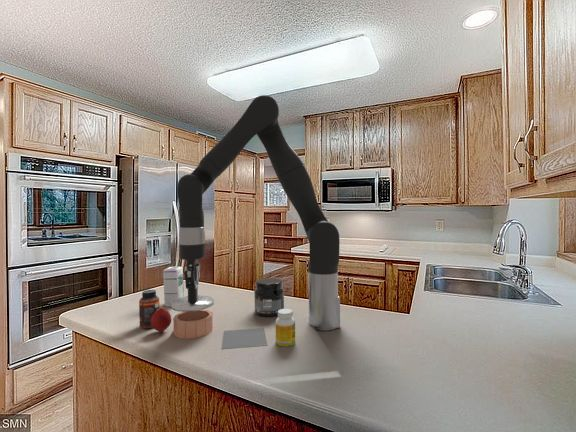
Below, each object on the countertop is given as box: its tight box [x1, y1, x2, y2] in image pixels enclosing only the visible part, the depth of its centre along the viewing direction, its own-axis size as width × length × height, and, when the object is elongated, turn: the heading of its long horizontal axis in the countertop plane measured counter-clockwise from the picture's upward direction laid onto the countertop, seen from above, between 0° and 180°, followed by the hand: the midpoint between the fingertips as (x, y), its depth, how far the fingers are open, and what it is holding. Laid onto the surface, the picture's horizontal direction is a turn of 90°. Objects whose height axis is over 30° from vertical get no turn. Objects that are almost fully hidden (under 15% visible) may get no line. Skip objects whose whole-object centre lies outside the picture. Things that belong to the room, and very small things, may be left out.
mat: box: [221, 327, 268, 350], centre depth 86 cm, size 12×12×1 cm
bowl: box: [172, 309, 214, 339], centre depth 92 cm, size 11×11×6 cm
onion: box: [151, 305, 172, 333], centre depth 93 cm, size 6×6×8 cm
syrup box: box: [162, 266, 185, 307], centre depth 120 cm, size 6×6×14 cm
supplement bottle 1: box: [138, 289, 160, 330], centre depth 98 cm, size 6×6×11 cm
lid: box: [170, 284, 215, 313], centre depth 91 cm, size 12×12×6 cm
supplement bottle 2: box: [274, 308, 296, 348], centre depth 83 cm, size 5×5×10 cm
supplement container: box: [253, 277, 285, 318], centre depth 107 cm, size 10×10×12 cm
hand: (193, 299), depth 91 cm, fingers closed on lid, 2 cm apart
